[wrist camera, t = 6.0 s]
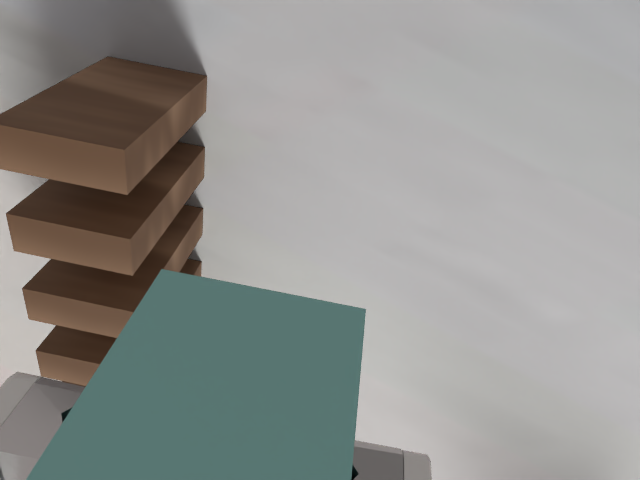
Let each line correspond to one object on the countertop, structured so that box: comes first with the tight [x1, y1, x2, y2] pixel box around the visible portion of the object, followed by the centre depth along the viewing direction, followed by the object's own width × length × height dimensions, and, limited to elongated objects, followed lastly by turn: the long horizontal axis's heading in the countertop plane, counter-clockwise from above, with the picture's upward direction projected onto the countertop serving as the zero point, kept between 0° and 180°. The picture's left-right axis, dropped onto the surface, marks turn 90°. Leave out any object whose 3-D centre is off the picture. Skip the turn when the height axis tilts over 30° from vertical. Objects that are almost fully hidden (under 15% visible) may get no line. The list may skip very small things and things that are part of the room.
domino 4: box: [36, 259, 201, 386], centre depth 29 cm, size 2×5×9 cm, turn 81°
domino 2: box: [6, 142, 205, 276], centre depth 25 cm, size 2×5×9 cm, turn 82°
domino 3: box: [22, 205, 203, 338], centre depth 27 cm, size 2×5×9 cm, turn 81°
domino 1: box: [0, 57, 207, 195], centre depth 23 cm, size 2×5×9 cm, turn 81°
